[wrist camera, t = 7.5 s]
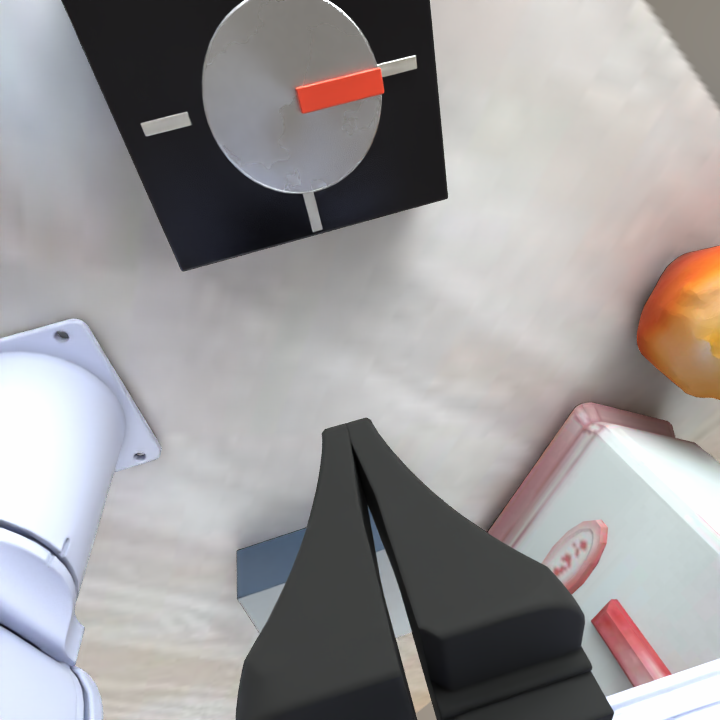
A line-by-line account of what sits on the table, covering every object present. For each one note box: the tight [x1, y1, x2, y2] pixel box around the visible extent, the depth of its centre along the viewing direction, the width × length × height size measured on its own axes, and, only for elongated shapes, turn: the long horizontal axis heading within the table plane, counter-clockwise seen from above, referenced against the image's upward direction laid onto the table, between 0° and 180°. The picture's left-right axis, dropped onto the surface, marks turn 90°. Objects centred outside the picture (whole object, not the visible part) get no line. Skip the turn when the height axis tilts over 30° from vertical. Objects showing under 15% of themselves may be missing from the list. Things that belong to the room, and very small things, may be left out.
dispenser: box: [237, 507, 412, 638], centre depth 30 cm, size 11×11×5 cm
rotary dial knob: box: [201, 0, 384, 194], centre depth 13 cm, size 4×4×4 cm
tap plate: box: [61, 0, 448, 271], centre depth 16 cm, size 10×9×3 cm
